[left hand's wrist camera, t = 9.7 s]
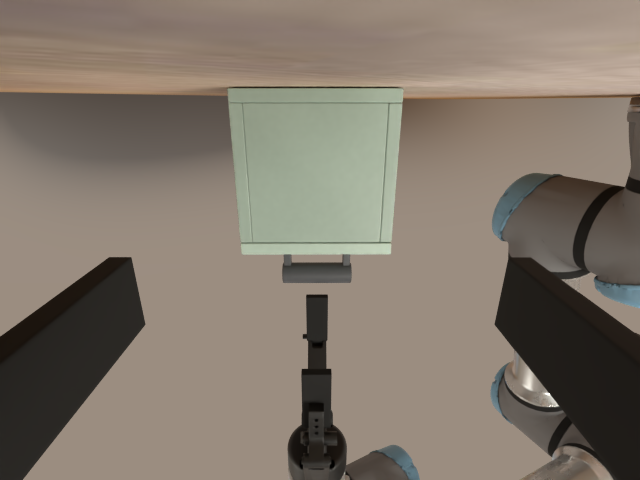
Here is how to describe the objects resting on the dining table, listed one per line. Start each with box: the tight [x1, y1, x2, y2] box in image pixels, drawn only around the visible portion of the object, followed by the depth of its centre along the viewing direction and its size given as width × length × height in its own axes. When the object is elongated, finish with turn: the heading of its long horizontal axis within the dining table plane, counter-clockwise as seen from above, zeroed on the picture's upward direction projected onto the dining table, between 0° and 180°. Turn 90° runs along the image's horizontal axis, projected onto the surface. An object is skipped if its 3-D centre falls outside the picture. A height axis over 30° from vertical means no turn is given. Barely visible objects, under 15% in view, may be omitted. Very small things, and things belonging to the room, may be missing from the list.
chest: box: [227, 88, 404, 242], centre depth 28 cm, size 13×10×10 cm
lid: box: [241, 242, 391, 283], centre depth 32 cm, size 14×10×8 cm
